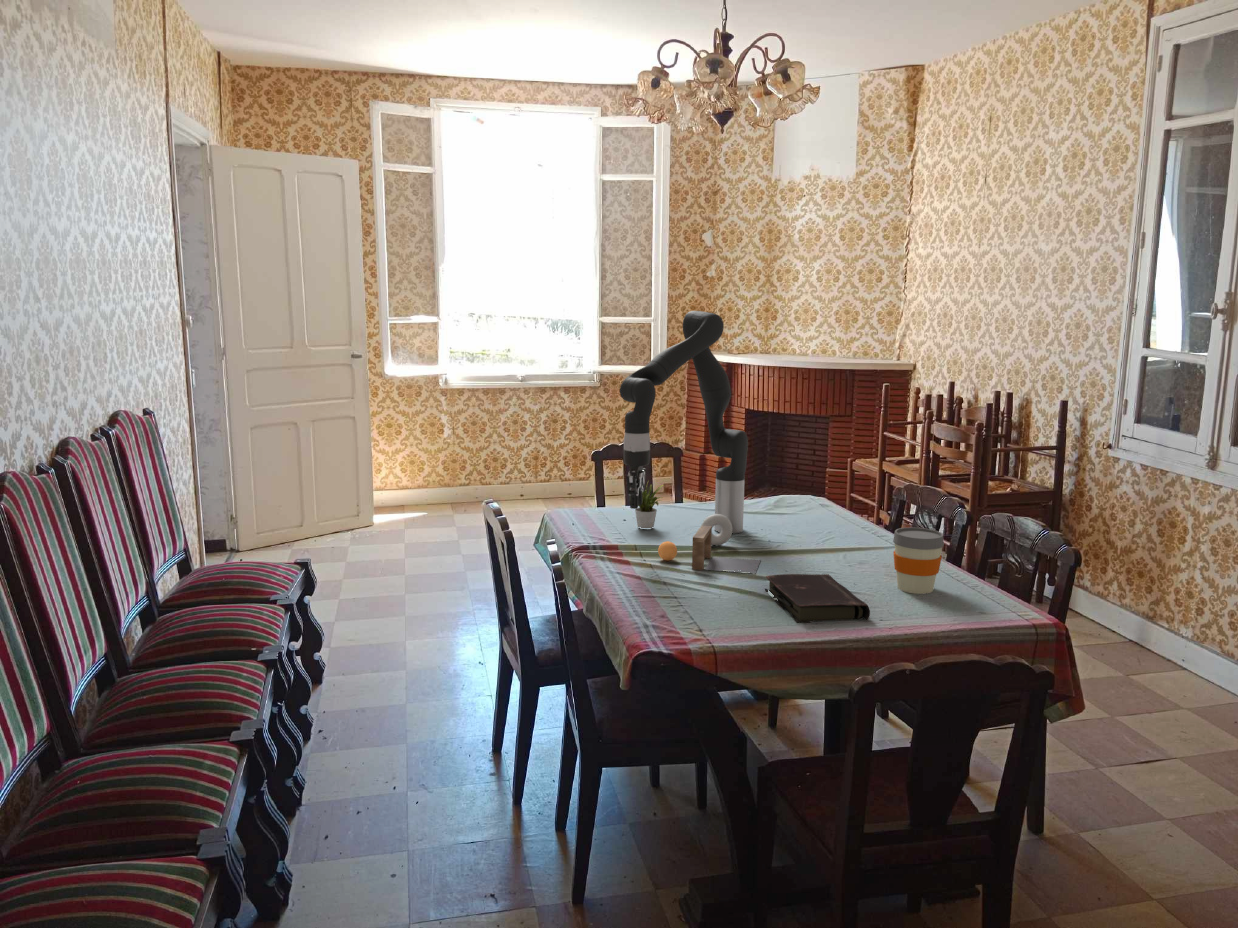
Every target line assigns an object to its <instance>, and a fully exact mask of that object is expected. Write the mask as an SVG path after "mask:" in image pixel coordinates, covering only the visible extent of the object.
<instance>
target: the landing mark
mask: <svg viewBox="0 0 1238 928" xmlns="http://www.w3.org/2000/svg"><path fill="white" fill-rule="evenodd" d="M761 561H762V560H761V559H751V558H737V557H725V556H724V557H723V556H713V555H712V556H711V558H710V560H709V561H708V563H707V565H706V567H704V571H708V570H714V571H713V572H721V571H723V570H734V571H735V572H750V573H755V574H756V573H757V571H758V569H759V565H760V563H761ZM738 570H739V571H738ZM740 570H741V571H740ZM734 571H729V572H727V571H726V572H725V573H733V572H734Z"/></svg>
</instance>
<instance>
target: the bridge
mask: <svg viewBox="0 0 1238 928" xmlns="http://www.w3.org/2000/svg"><path fill="white" fill-rule="evenodd" d="M712 534H713V527H712V526H700V527H699V528H698V529H697V531H696V533H695V534H694V535H693V536H692V549H691V550H692V551H691V552H692V554H691V555H692V557H691V558H692V559H691V570H693V571H694V570H696V571H703V570H705V559H711V558H712V545H711V538H712Z"/></svg>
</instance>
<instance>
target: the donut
mask: <svg viewBox="0 0 1238 928" xmlns="http://www.w3.org/2000/svg"><path fill="white" fill-rule="evenodd" d="M715 525H720V526H721V529H722V530H721V532H719V533H718V534H714V533H712V538H711V546H713V545H719V546H722V545H724V544H727V542H728V541H729V540H730V538H731V536H732V535H733V534H732V530H733V529H732V524H731V522H730V520H729V519H728V518H727V517H726V516H724V515H721V514H715V513H714V514H710V515H709V516H707V517H706V518H704V520H703V522H702V523H701V526H712V528H713V527H715ZM701 526H700V527H701Z"/></svg>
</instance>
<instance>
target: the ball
mask: <svg viewBox="0 0 1238 928" xmlns="http://www.w3.org/2000/svg"><path fill="white" fill-rule="evenodd" d="M657 552H658V553H657V554H658V556H659V557H660V559H661V560H663V561H672V560H674V559H675V558H676V556H677V554H678V548H677V546H676V544H675V543H674V542H672V541H663V542H662V543H661V544H660V545H659V546H658V548H657Z"/></svg>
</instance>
